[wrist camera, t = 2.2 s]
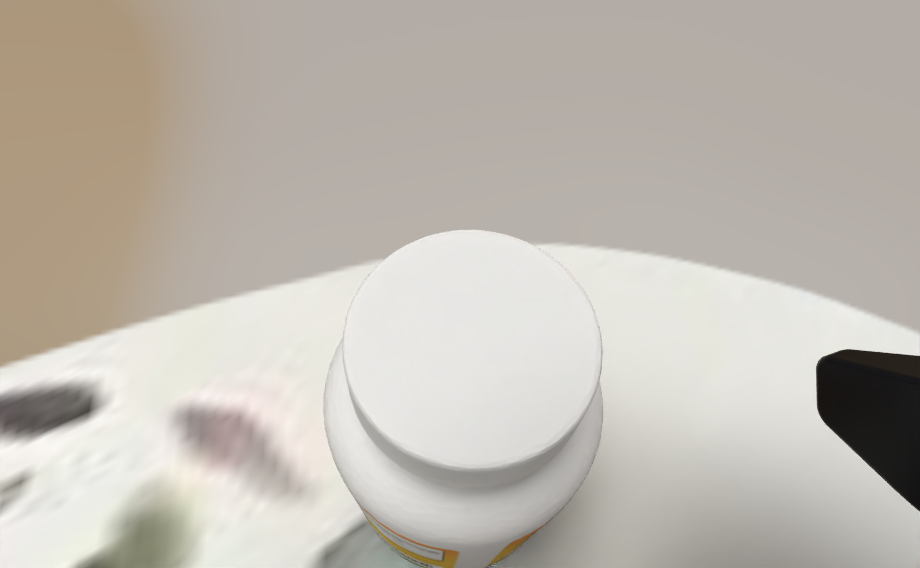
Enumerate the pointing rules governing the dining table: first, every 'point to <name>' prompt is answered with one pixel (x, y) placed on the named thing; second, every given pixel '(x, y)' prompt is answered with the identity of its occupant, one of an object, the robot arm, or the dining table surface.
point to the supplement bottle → (465, 396)
